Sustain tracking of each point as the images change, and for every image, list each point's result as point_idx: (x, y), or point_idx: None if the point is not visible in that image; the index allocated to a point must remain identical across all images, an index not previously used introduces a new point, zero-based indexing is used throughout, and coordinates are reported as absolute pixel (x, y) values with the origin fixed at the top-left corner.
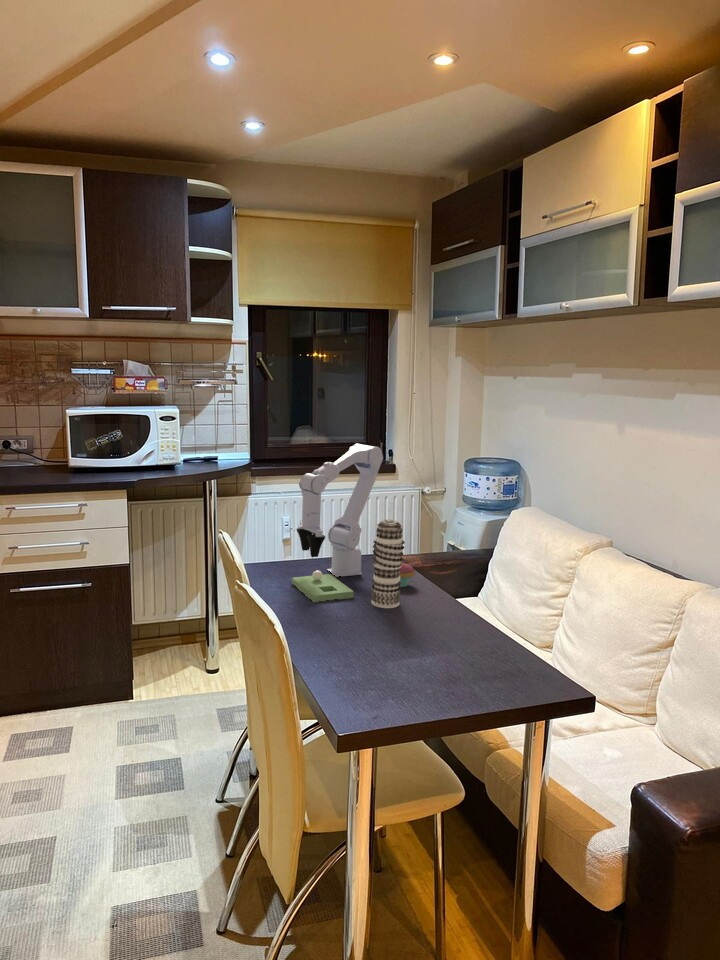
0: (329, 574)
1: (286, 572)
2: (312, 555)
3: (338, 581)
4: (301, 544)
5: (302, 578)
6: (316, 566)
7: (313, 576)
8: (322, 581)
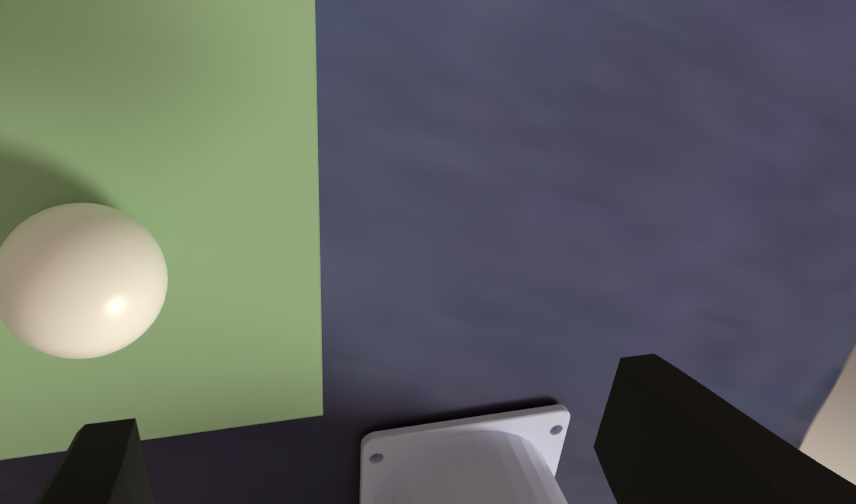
0: (304, 409)
1: (720, 39)
2: (66, 469)
3: (19, 443)
4: (737, 427)
5: (231, 78)
6: (697, 353)
7: (40, 217)
8: None
